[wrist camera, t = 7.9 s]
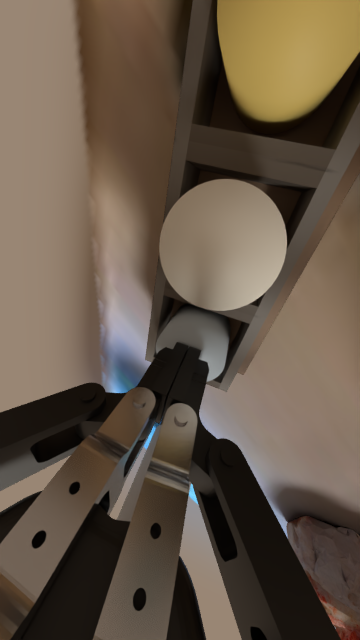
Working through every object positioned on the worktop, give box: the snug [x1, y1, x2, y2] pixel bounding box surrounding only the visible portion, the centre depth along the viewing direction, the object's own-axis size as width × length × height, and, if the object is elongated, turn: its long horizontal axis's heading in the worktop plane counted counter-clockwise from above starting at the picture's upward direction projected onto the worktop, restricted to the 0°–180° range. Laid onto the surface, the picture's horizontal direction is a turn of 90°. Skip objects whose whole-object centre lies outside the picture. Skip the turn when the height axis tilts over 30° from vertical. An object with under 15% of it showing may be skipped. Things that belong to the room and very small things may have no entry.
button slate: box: [156, 303, 231, 382], centre depth 13 cm, size 4×4×3 cm
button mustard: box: [217, 0, 360, 134], centre depth 6 cm, size 4×4×3 cm
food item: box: [287, 516, 360, 640], centre depth 24 cm, size 14×8×10 cm, turn 86°
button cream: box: [159, 179, 287, 311], centre depth 8 cm, size 4×4×3 cm
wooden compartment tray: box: [145, 0, 360, 392], centre depth 11 cm, size 20×8×5 cm, turn 168°
